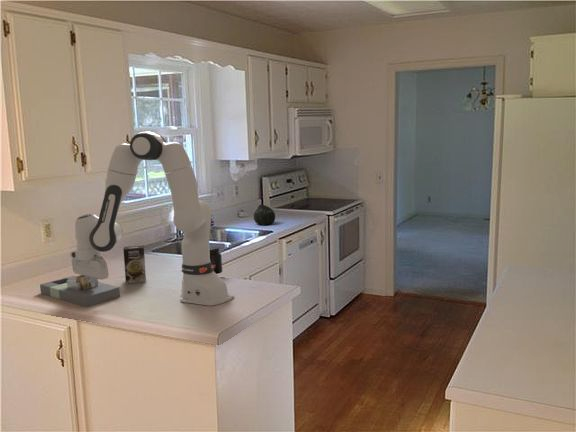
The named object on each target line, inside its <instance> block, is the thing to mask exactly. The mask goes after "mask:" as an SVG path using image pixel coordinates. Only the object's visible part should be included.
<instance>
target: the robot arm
mask: <svg viewBox="0 0 576 432" xmlns="http://www.w3.org/2000/svg"><path fill="white" fill-rule="evenodd" d="M142 161H158V162H159V163H160V165H161V166H162V168H163V173H164V175H165V177H166V181H167V184H168V187H169V190H170V191H169V192H170V194H171V200H172V207H173V208H172V209H173V218H172V219H173V224H174V227H175V228H176V229H177V230H178V231H179V232H183V238H182V241H181V256H182V257H181V258H182V263H181V272H182V273H183V274H182V280H181V293H180V294H181V295H180V298H179V300H180V301H179V302H182V303H187V304H188V303H189V304H195V305H201V306H202V305H203V306H209V307H211V306H216V305H221V304H223V303H227V302H228V301H230V300H232V299H233V298H234V294H233V293H230V292H229V291H228V286H227V283H226V282H225V281H224V279H222V278H221V277H220V276H219V274H216V273H215V272H214V269H213V268H215V267H213V266H215V265H212V263H211V261H210V251H209V248H210V239H211V237H210V236H211V227H212V216H213V209H212V206H211V204H209V202H206V201H204V200H201V199H200V198H199V191H198V190H199V189H198V187H199V183H198V180H197V178H196V175H195V171H194V168H193V164H192V163H191V160H190V158H189V155H188V153H187V151H186V149H185V147H184V146H183V144H181V143H179V142H177V141H172V142H167V141H166V140H165V138H164V137H163V136H162V135H161V134H159V133H155V132H152V131H140V132H137V133H136V134H134V135H133V136H132V137H131V139H130V142H129V143H121V144H118V145H116V146H115V148H114V149H113V152H112V155H111V157H110V160H109V164H108V168H107V173H106V180H105V189H104V195H103V200H102V204H101V208H100V212H99V216H97V215H96V214H95V213H88V214H83V215H81V216H78V217H77V218H76V219H75V223H74V227H75V228H74V231H75V233H74V234H75V239H76V250H74V251H71V252H70V257H71V267H72V271H73V273H74V274H77V275H79V276H80V275H84V276H85V278H86V280H87V282H88V286H89V287H95V286H96V284H95V282H96V280H97V279H98V280H101V281H102V280H106V279H108V278H109V268H108V264H107V260H105V259H104V257H103V256H101V252H102V253H103V252H105V253H106V252H109V251H111V250H112V249H113V248H114V247H115V245H117V243H119V242H120V240H121V239H122V238H123V235H124V231H123V227H122V225H121V224H119V223H118V222H116V221H117V219H118V218H117V217H118V214H119V213H118V212H119V209H120V207H121V204H122V202H123V200H124V199H125V198H126V196H127V195H129V193H130V192H131V191H132V190H133V187H134V184H135V182H136V179H137V173H138V169H139V165H140V164H141V162H142Z"/></svg>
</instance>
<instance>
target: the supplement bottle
mask: <svg viewBox="0 0 576 432" xmlns="http://www.w3.org/2000/svg"><path fill="white" fill-rule="evenodd" d="M209 251H210V261H211V263H212V265H215V266H213V267H215V268H213V269H214V272H215V273H216V274H217V275H219V274H221V273H222V272H223V260H222V254H221V253H220V248H219V247H217V246H214V247H213V246H211V247H209Z"/></svg>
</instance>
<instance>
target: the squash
mask: <svg viewBox="0 0 576 432" xmlns="http://www.w3.org/2000/svg"><path fill="white" fill-rule="evenodd" d="M253 220H254V222H255V223H256V224H258V225H259V226H266V225H272V224H274V222H275V220H276V214H275V211H274V210H273V209H272V208H271V207H269V206H267V205H264V204H259V205H258V206H257V209H256V210H255V212H254V214H253Z"/></svg>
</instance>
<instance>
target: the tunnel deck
mask: <svg viewBox="0 0 576 432" xmlns="http://www.w3.org/2000/svg"><path fill="white" fill-rule="evenodd" d="M76 276H77V275H71V276H66V277H63V278H59V279H55V280H51V281H47V282H44V283H41V284H40V283H39V284H40V285H39V289H40V294H42V295H45V296H48V297H52V298H55V299H58V300H61V301H65V302H68V303H71V304H74V305H76V306H77V305H79V306H81V307H83V308H84V307H85V308H87V307H92V306H94V305H97V304H100V303H104V302H107V301H110V300H114V299H117V298H120V297H121V289H120V286H117V285H112V284H108V283H104V282H100V281H99V279H97V280H96V282H95V284H96V286H95V287H92V288H88V289H85V290H82V289H81V287H80V282H77V281H76V279H75V277H76Z"/></svg>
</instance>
